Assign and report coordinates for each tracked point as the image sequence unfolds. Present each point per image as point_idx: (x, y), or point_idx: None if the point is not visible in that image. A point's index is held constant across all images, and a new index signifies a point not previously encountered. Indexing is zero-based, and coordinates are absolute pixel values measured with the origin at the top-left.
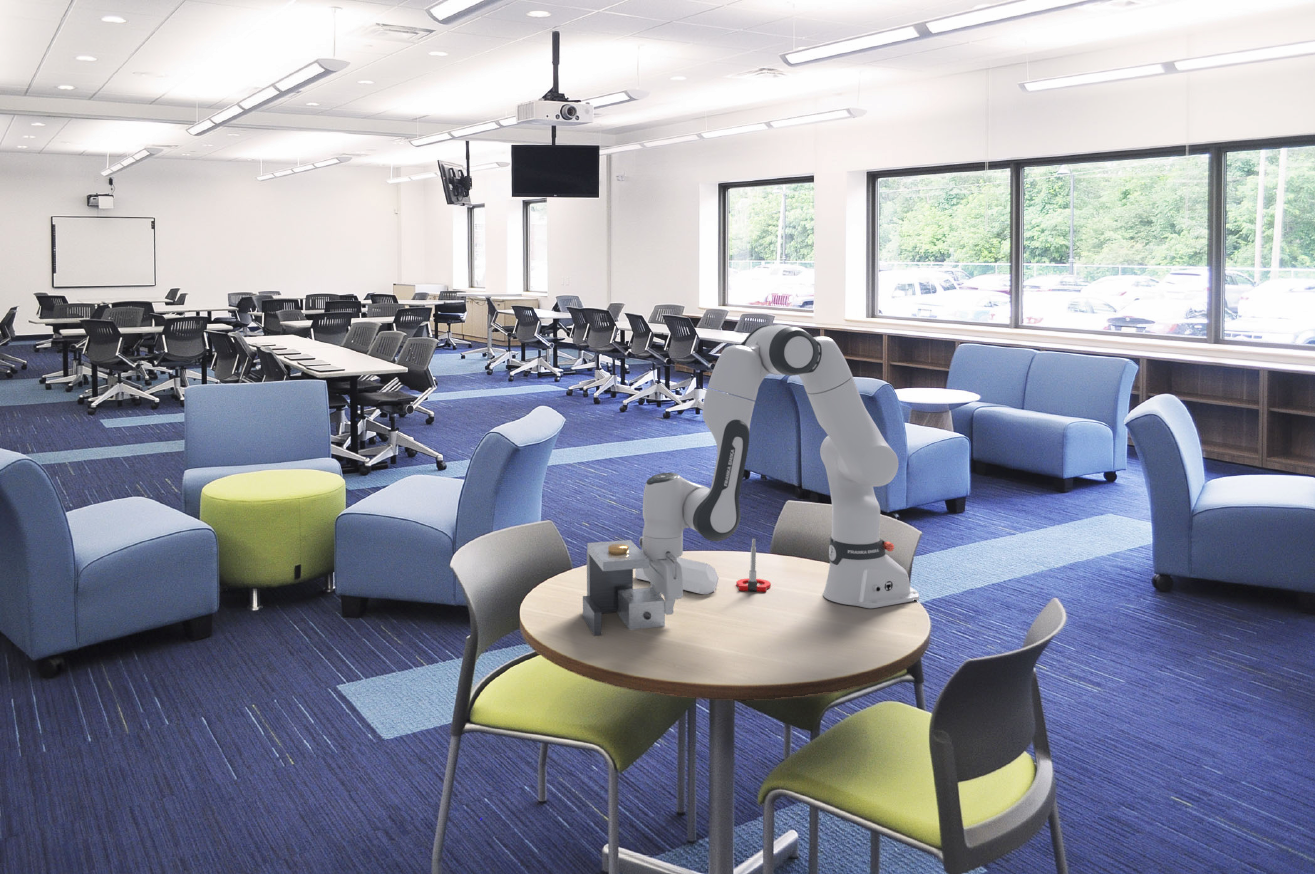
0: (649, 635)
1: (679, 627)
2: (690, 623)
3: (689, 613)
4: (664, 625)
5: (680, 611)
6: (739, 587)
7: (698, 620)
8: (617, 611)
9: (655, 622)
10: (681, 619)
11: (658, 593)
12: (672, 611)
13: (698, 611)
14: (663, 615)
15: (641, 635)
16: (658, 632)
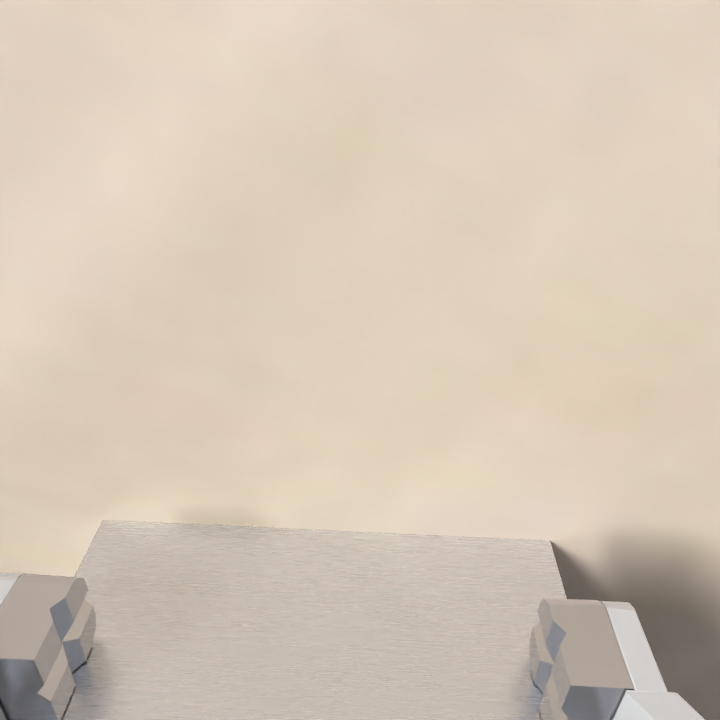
0: (693, 673)
1: (657, 443)
2: (600, 300)
3: (215, 180)
4: (550, 549)
5: (113, 266)
6: None
7: (543, 162)
8: None
9: None
10: (417, 348)
11: (24, 684)
12: (636, 629)
13: (142, 4)
14: None
15: None
16: (671, 615)
